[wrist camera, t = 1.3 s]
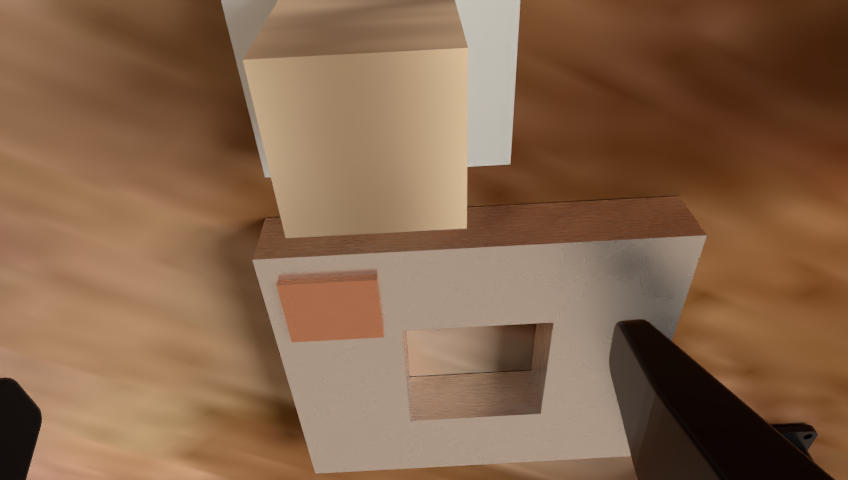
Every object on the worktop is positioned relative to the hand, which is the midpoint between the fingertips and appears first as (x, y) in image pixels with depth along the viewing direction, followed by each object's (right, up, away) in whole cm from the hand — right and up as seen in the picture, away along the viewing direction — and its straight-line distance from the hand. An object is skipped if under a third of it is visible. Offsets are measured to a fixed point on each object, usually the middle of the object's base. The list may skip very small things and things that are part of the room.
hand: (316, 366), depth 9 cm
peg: (0, +7, +8) cm, 10 cm away
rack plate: (+4, -2, +18) cm, 18 cm away
